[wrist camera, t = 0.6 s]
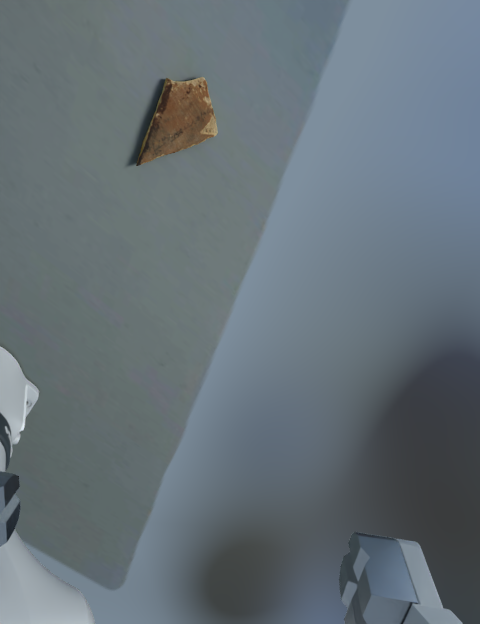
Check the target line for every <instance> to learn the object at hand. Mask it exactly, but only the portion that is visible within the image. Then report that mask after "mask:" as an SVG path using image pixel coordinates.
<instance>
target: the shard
mask: <svg viewBox="0 0 480 624" xmlns="http://www.w3.org/2000/svg"><path fill="white" fill-rule="evenodd" d="M217 134H218V131H217V125H216V118H215V115H214V111H213V108H212V105H211V101H210V97H209V93H208V87H207V82H206V80H205V78H204V77H200V78H197V79H194V80H189V81H184V82H182V81H172V80H170V79H168V78H166V80H165V83H164V87H163V91H162V94H161V96H160V99H159V100H158V104H157V108H156V111H155V113H154V116H153V118H152V120H151V122H150V126H149V128H148V131H147V133H146V136H145V138H144V141H143V143H142V147H141V152H140V154H139V158H138V161H137V165H136V166H139V165H141V164H143V163H146V162H149V161H152V160H154V159H156V158H158V157H161V156H164V155H167V154H171V153H175V152H178V151H180V150H182V149H187V148H189V147H191V146H193V145H197V144H199V143H201V142H204V141H205V140H206V139H207V138H211V137H214V136H216V135H217Z"/></svg>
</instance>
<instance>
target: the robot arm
mask: <svg viewBox="0 0 480 624" xmlns="http://www.w3.org/2000/svg"><path fill="white" fill-rule="evenodd" d="M38 396H39V390H38V389H37V387H36V386H35V385H33V384H32V383H31V382H30V381H28V380H27V379H26V378H25V376H24V375H23V373H22V370H21V368H20V366H19V364H18V362H17V361H16V360H15V358H14V357H13V356H12V355H11V354H10V353H9V352H8V351H6V350H5V349H4V348H2V347H0V624H95V621H94V617H93V614H92V611H91V608H90V606H89V604H88V603H87V600H86V599H85V597H84V596H83V594H82V593H81V592H80V591H79V590H78V589H76V588H75V587H73V586H72V585H70V584H68V583H66V582H64V581H63V580H61V579H59V578H58V577H57V576H55V575H54V574H53V573H51V572H50V571H49V570H48V569H46V568H45V567H44V566H43V565H42V564H41V563H40V562H39V561H38V560H37V559H36V558H35V557H34V556H33V554H32V553H31V552H30V551H29V549H28V548H27V547H26V546H25V544H24V543H23V541H22V540H21V538H20V537H19V535H18V533H17V532H16V530H15V527H16V524H17V522H18V519H19V514H20V500H19V499H18V497H17V496H16V495H15V493H16V491H17V490H18V489H19V487H20V483H19V476H18V475H16V474H12V473H7V472H5V471H6V469H7V468H8V465H9V461H10V457H11V454H12V444H17V443H18V441H19V439H20V434H19V432H20V431H23V429H24V426H25V418H26V416H27V415H28V413H29V412H30V410H31V409H32V407H33V406H34V404H35V403H36V401H37V399H38ZM349 548H350V553H348V554H346V555H345V556H344V557H343V561H342V564H341V569H340V578H339V583H340V594H341V600H342V601H343V603H344V604H345V605H346V606H347V608H348V610H347V613H346V616H345V618H344V621H345V624H463V623H462V622H461V621H460V620H459V619H458V618H457V617H456V616H455V615H454V614H453V613H452V612H451V611H450V610H448V609H443V606H442V604H441V601H440V598H439V596H438V593H437V590H436V588H435V585H434V582H433V580H432V577H431V574H430V572H429V569H428V566H427V564H426V561H425V558H424V555H423V553H422V550H421V547H420V545H419V544H418V543H417V542H414V541H407V540H401V539H394V538H389V537H383V536H377V535H371V534H365V533H358V532H354V533H353V534H352V535H351V538H350V541H349Z"/></svg>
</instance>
